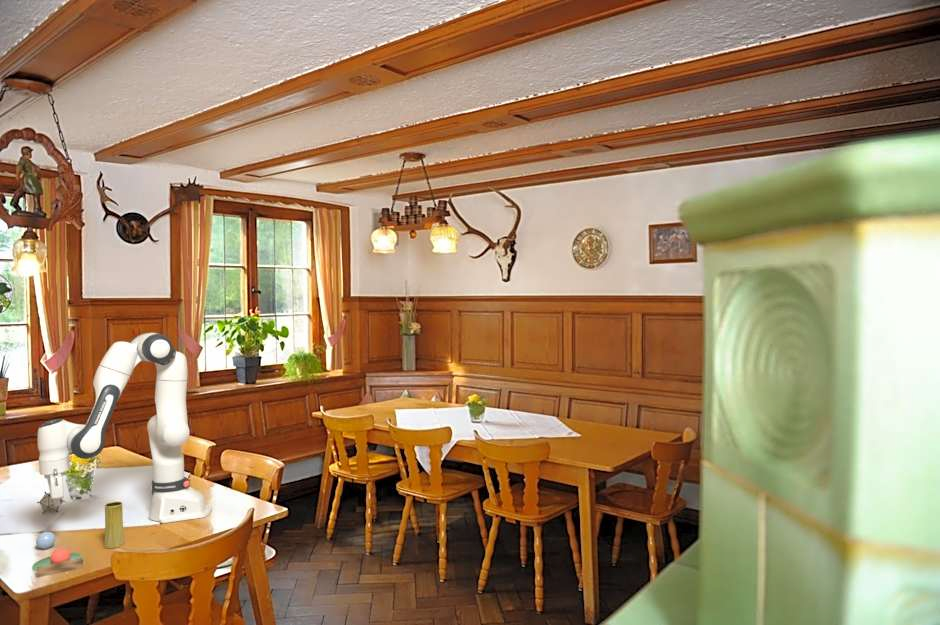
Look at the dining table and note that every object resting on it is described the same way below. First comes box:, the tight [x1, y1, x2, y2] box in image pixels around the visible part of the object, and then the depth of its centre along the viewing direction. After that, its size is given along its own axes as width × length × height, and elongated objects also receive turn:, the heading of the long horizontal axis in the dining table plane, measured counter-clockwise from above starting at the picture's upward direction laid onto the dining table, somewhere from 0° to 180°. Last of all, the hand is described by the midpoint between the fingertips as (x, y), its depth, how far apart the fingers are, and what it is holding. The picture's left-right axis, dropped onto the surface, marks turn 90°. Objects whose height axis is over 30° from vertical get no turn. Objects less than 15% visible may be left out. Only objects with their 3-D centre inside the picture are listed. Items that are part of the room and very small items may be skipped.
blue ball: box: [35, 531, 56, 550], centre depth 217 cm, size 6×6×6 cm
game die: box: [36, 491, 66, 514], centre depth 254 cm, size 9×8×10 cm
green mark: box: [31, 552, 85, 572], centre depth 206 cm, size 14×14×1 cm
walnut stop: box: [36, 558, 84, 578], centre depth 199 cm, size 12×2×2 cm, turn 125°
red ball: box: [49, 548, 71, 564], centre depth 203 cm, size 6×6×6 cm
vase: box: [103, 501, 125, 549], centre depth 220 cm, size 6×6×14 cm
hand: (57, 505), depth 225 cm, fingers closed
